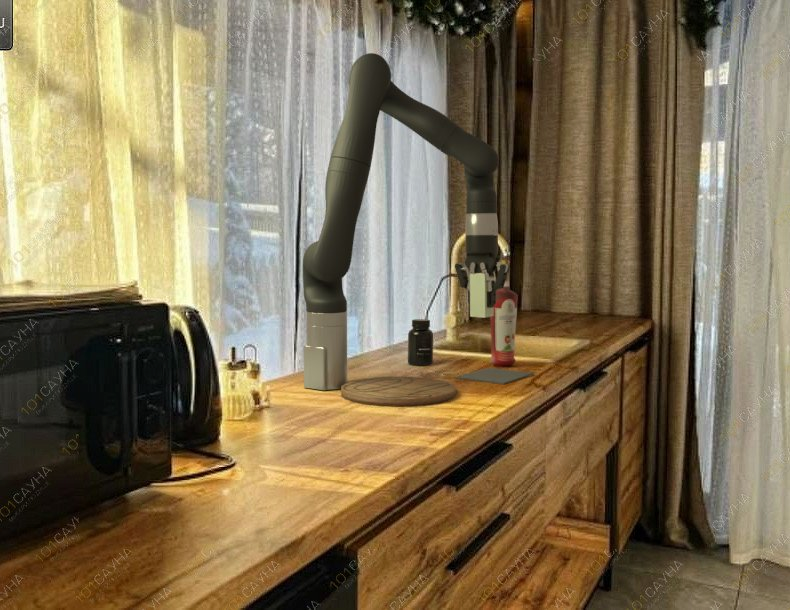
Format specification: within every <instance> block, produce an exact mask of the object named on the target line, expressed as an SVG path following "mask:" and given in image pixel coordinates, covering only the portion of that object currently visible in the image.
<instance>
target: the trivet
mask: <svg viewBox="0 0 790 610" xmlns="http://www.w3.org/2000/svg"><path fill="white" fill-rule="evenodd" d="M340 395H341V396H340V397H341V398H343V399H344V400H346V401H348V402H351V403H356V404H359V405H364V406H375V407H387V408H388V407H392V408H398V407H399V408H403V407H404V408H406V407H407V408H411V407H424V406H431V405H438V404H442V403H446V402H450V401H451V400H453V399H455V397H456V396H457V387H456V386H455V385H454V384H453V383H451V382H448V381H445V380H442V379H441V380H440V379H435V378H429V377H418V376H417V377H416V376H377V377H369V378H360V379H356V380H352V381H347V383H345V384H344V385H342V386H341V388H340Z"/></svg>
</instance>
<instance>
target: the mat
mask: <svg viewBox="0 0 790 610" xmlns="http://www.w3.org/2000/svg"><path fill="white" fill-rule="evenodd" d="M533 374H534V375H535V373H534V372H529V371H520V370H512V369H505V368H504V369H503V368H495V367H494V368H493V367H485V368H481V369H479V370H474V371H472V372H468V373H465V374H461V375H458V376H457V375H456V376H455V379H457V380H458V379H459V380H467V381H472V382H473V381H476V382H482V383H489V384H498V385H507V384H510V383H512V382H515V381H518V379H519V380H521V378H522V379H525V378H528V377H530V375H531V376H533ZM527 376H528V377H527ZM524 377H525V378H524Z"/></svg>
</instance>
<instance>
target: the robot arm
mask: <svg viewBox="0 0 790 610" xmlns="http://www.w3.org/2000/svg"><path fill="white" fill-rule="evenodd" d="M391 79H392V73H391V67H390V66H389V63H388V62H387V60H386V58H384V57H383V56H382V55H380V54H377V53H374V52H371V53H365V54H363V55H361V56H359V57H358V58H357V59H356V60H355V61H354V62H353V63H352V66H351V68H350V71H349V77H348V87H349V88H348V95H347V101H346V102H347V103H346V108H345V112H344V116H343V119H342V121H341V124H340V127H339V129H338V132H337V135H336V138H335V141H334V145H333V147H332V151H331V153H330V157H329V163H328V166H327V171H326V175H325V184H324V185H325V187H324V192H325V193H324V195H325V196H324V197H325V215H324V220H323V223H322V227H321V231H320V234H319V236H318V240H316V241H315V242H312V243H311V244H309V245H308V247H307V248H306V249H305V251H304V253H303V258H302V282H303V283H302V284H303V286H302V289H303V298H304V301H305V309H306V310H305V312H306V315H305V316H306V321H305V322H306V326H305V327H306V330H305V331H306V345H304V346H303V388H306V389H313V390H319V391H328V390H330V391H331V390H341V386H342V385H344V384H345V383H348V301H347V297H346V295H345V294H344V289H343V278H345V276H346V275H347V273H348V272H349V270H350V267H351V263H352V256H353V248H354V240H355V233H356V226H357V222H358V218H359V214H360V211H361V207H362V203H363V199H364V195H365V191H366V187H367V184H368V181H369V180H368V179H369V175H370V171H371V168H372V167H371V166H372V161H373V157H374V148H375V144H376V143H375V142H376V132H377V125H378V119H379V115H380V111H381V112H382V113H384V114H387V115H388V116H389V117H391V118H393V119H394V120H396V121H397V122H399V123H401V124H402V125H404V126H405V127H407V128H408V129H410V130H411V131H412V132H414V133H415V134H416V135H418V136H419V137H420V138H422V139H423V140H425V141H426V142H428V143H429V144H430V145H432V146H433V147H434V148H436V149H437V150H438V151H440V152H441V153H442V154H444V155H446V156H449V157H453V158H454V159H456V160H457V161H458V162H460V163H461V164H462V165H464V167H463V168H464V170H463V171H464V172H463V173H464V180H465V190H466V205H465V206H466V207H465V208H466V209H465V210H466V217H465V218H466V219H465V226H464V227H465V231H464V232H465V236H464V237H465V254H466V256H465V260H464V261H463V262H461V263H459V262H458V263H455V264H454V268H455V271H456V275H457V278H458V282H459V285H460V287H461V288H463V289H465V290H467V298H468V299H467V302H468V305H470V274H475V273H483V274H486V282H487V290H488V292H487V307H488V308H492V307H494V305H495V304H496V291H497V290H498V289H501V288H503V287H504V284H505V281H506V278H507V274H508V275H509V272H510V267H511V266H510V263H509V264H503V263H501V262H499V260H500V259H499V258H498V253H499V221H498V214H497V213H498V202H497V201H498V198H497V192H496V190H495V187H494V185H495V184H494V173H495V172H496V170H497V169H498V167H499V163H500V158H499V154H498V152H497V151H496V150H495V148H493V146H492V145H490V144H488V143H487V142H485V141H484V140H482V139H480V138H479V137H477V136H476V135H473V134H472V133H470V132H468V131H466V130H465V129H463V128H462V127H461V126H460V125H459V124H457V123H456V122H455V121H453V120H452V119H451V118H449V117H448V116H446V115H445V114H443V113H442V112H440V111H439V110H437V109H435V108H433V107H431V106H429V105H427V104H424V103H422V102H420V101H419V100H416V99H415V98H413V97H411V96H410V95H408V94H407V93H406V92H405V91H403V90H401V89H400V88H399V87H398V86H397V85H396V84H395V83H394V82H393V81H392V80H391ZM467 270H468V271H469V272H468V273H467ZM495 270H496V271H497V275H496V273H495ZM491 275H492V277H491V278H490V277H489V276H491Z"/></svg>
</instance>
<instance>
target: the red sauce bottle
mask: <svg viewBox="0 0 790 610" xmlns="http://www.w3.org/2000/svg"><path fill="white" fill-rule="evenodd" d="M499 262H501V263H503V264H509V265H510V260H508V259H504V260H503V259H499ZM518 296H519V295H518V294H517V293H516V292H515V291H513V290H511V289H510V278H509V273H508V274H507V278H506V281H505V284H504V287H503V288H501V289H498V290H497V291H496V304H495V305H494V316H491V317H489V318H490V336H491V337H490V339H491V340H490V342H491V345H490V346H491V357H490V359H489V362H490V363H491V364H492V365H493V366H494V367H499V368H509V367H511V366H513V365H514V364H515V363H516V359H515V349H516V348H515V345H516V344H515V343H516V342H515V341H516V330H517V329H516V327H517V316H518V315H517V313H518V299H519V298H518Z"/></svg>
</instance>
